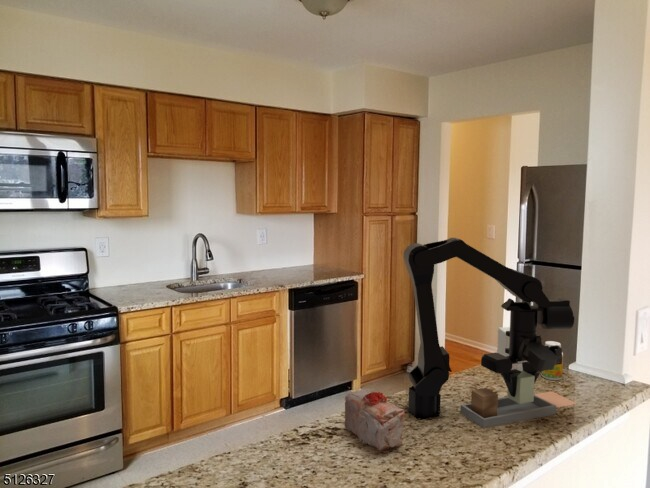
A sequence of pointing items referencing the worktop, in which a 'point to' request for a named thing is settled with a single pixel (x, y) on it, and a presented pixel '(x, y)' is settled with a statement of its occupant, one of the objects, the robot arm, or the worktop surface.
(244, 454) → the worktop surface
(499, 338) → the supplement box
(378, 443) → the food item
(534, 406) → the bin
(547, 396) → the coaster
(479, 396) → the walnut block
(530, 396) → the sage block
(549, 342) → the supplement bottle
